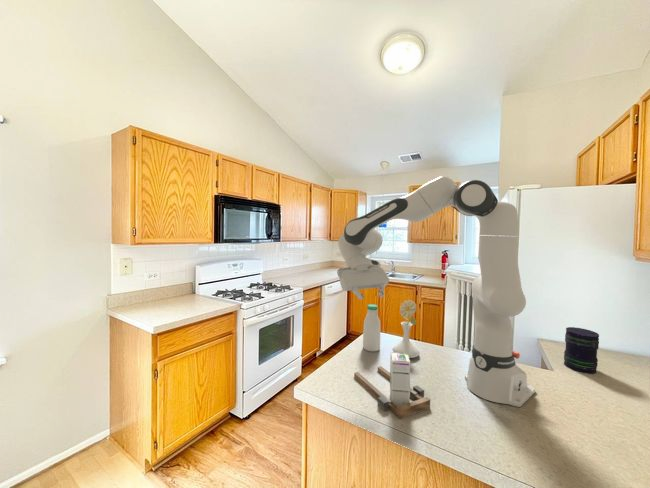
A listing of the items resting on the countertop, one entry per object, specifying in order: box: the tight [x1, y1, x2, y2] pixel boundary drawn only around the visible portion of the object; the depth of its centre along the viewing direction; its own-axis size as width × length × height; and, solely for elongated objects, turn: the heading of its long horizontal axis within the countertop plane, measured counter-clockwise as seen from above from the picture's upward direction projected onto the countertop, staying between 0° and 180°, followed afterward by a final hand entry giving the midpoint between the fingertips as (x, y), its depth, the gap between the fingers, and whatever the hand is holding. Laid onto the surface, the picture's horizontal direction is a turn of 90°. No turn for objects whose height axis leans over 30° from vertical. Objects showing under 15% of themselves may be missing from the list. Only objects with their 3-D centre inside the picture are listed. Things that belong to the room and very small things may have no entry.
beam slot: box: [354, 365, 431, 420], centre depth 91 cm, size 16×24×2 cm, turn 26°
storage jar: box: [563, 326, 600, 375], centre depth 109 cm, size 10×10×15 cm
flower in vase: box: [392, 299, 420, 359], centre depth 117 cm, size 13×11×25 cm
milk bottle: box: [362, 303, 381, 353], centre depth 124 cm, size 8×8×20 cm
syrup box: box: [389, 352, 411, 407], centre depth 85 cm, size 6×6×14 cm
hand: (372, 297), depth 100 cm, fingers open, 8 cm apart
